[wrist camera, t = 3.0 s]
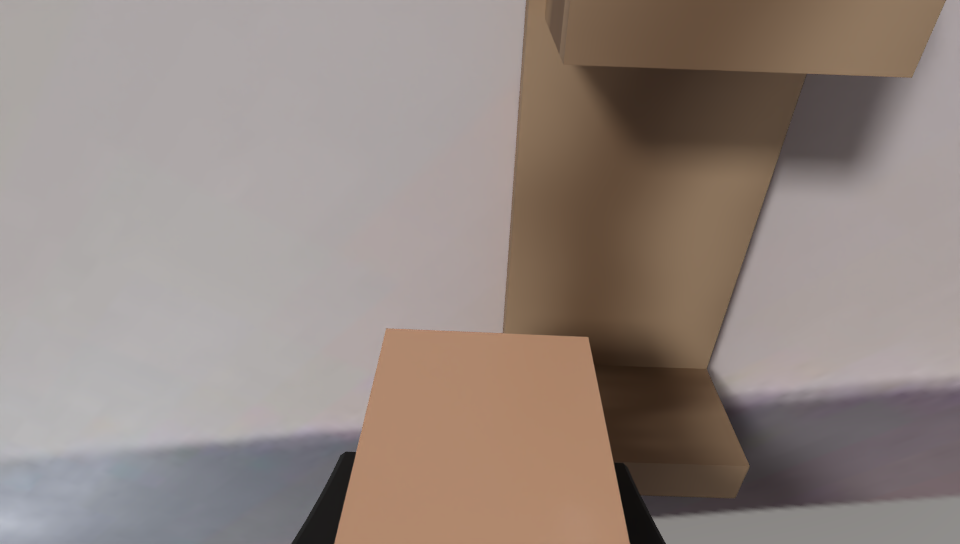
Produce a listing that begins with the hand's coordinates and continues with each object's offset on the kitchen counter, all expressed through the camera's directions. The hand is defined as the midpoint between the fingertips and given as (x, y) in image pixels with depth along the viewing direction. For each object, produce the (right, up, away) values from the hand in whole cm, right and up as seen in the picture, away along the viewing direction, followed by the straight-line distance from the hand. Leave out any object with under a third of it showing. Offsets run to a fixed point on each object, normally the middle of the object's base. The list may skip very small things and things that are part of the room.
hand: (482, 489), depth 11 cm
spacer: (0, +1, +2) cm, 2 cm away
